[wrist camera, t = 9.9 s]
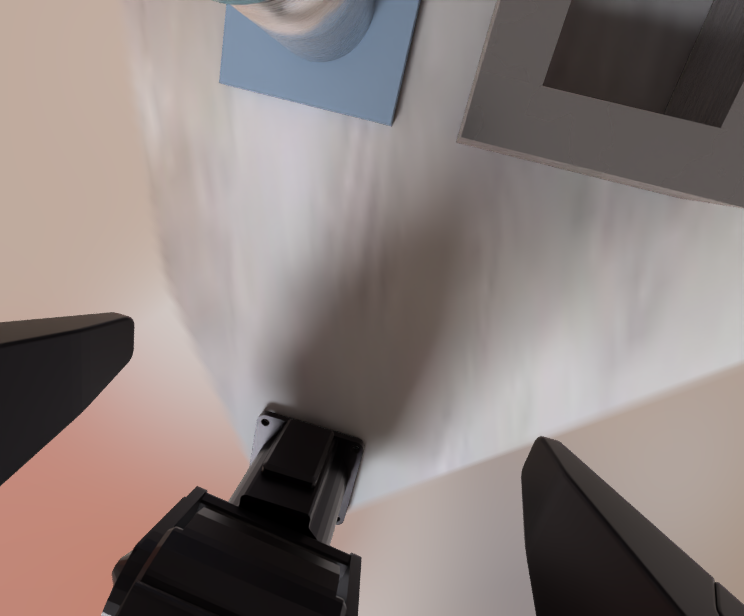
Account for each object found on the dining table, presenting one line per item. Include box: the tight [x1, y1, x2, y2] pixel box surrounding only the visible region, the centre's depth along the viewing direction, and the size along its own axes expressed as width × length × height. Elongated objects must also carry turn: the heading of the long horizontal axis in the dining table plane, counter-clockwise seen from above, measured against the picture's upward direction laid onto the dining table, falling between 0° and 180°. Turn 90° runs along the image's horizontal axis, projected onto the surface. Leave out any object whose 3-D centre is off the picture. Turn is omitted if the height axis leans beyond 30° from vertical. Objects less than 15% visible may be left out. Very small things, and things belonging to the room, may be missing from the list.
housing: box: [456, 0, 744, 208], centre depth 15 cm, size 10×10×4 cm
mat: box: [219, 0, 421, 126], centre depth 18 cm, size 8×8×1 cm
